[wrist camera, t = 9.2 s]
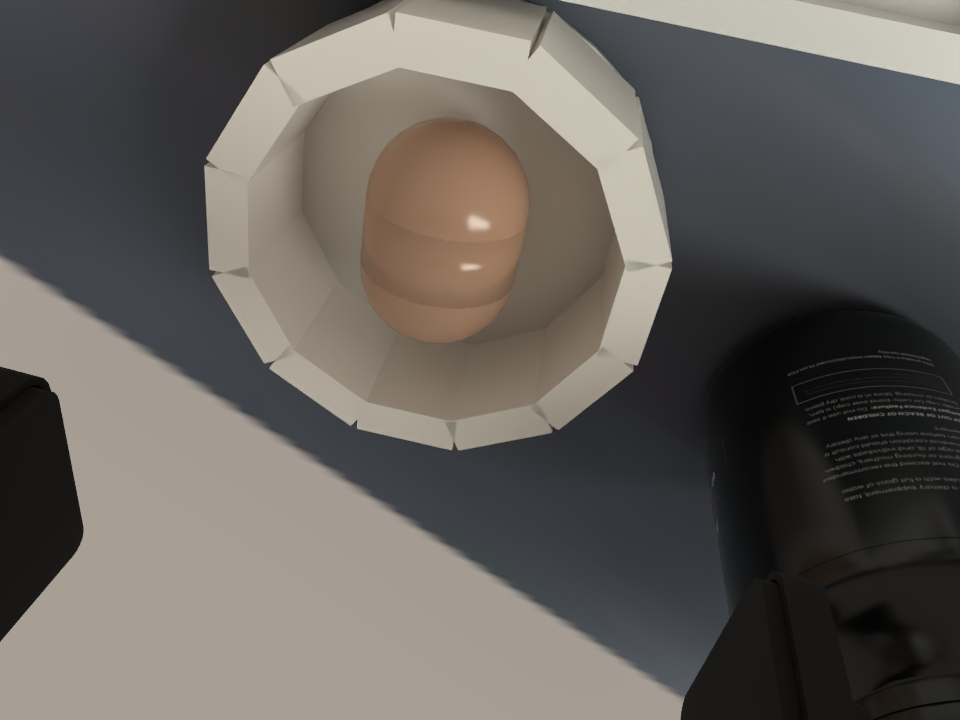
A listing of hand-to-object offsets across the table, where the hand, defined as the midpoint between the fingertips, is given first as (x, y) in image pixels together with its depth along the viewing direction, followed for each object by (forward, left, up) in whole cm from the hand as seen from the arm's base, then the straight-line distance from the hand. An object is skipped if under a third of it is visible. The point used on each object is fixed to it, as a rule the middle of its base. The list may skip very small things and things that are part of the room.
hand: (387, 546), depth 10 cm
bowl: (+1, 0, -11) cm, 11 cm away
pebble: (+1, 0, -11) cm, 11 cm away
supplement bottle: (-10, +3, -11) cm, 16 cm away
